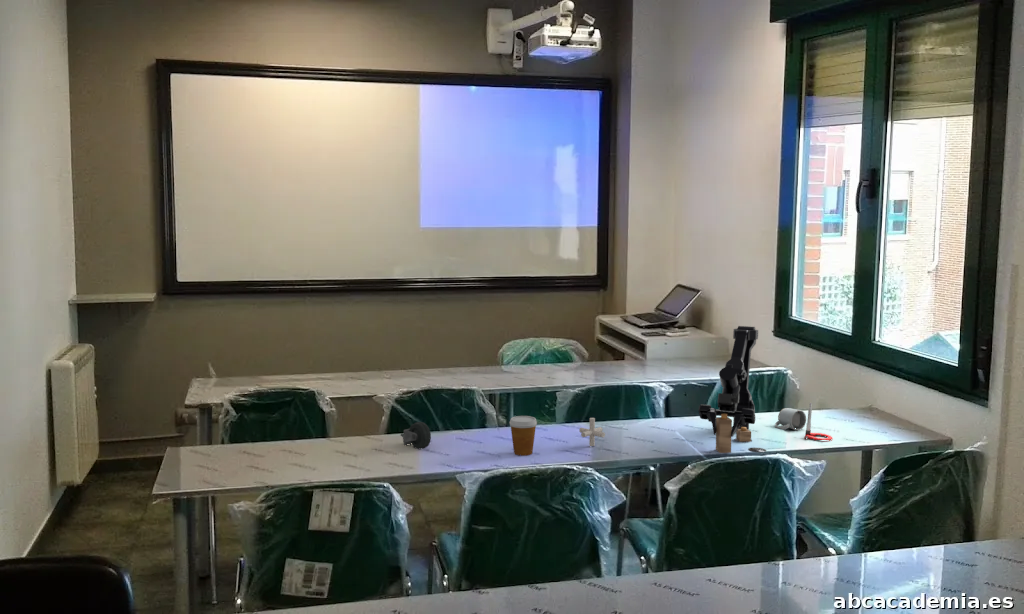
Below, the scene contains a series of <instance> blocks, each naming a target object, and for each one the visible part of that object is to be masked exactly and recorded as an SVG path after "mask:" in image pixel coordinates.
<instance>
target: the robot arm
mask: <svg viewBox="0 0 1024 614" xmlns="http://www.w3.org/2000/svg"><path fill="white" fill-rule="evenodd" d="M732 333H733V334H732V337H733V338H732V339H734V343H733V347H732V351H731V356H730V359H729V360H727V361H726V362H725V365H724V367H723V368H721V370H719V373H718V374H719V379H720V380H719V381H720V384H721V387H722V392H721V393H718V394H717V408H718V409H716V408H715V407H714V408H713V407H712V405H711V404H703V403H702V404H700V405H698V414H699V418H700V419H702V420H708V422H710V423H711V424H712V425H711V426H712V430H713V435H715V436H716V417H717V416H718V417H721V414H727V417H728V418H733V419H732V423H733V424H732V431H731V438H732V437H734V435H736V431H737V430H738V429H741V427H746V428H747V429H748V430H750V425H754V424H755V423H756V408H755V404H754V401H753V398H752V397H753V396H752V394H751V392H750V390H749V380H750V379H749V378H750V367H751V366H750V365H751V355H752V349H753V348H754V347H755V346H756V344H757V340H758V339H759V329H756V326H746V325H738V326H737V327H736V328H733V332H732Z"/></svg>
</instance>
